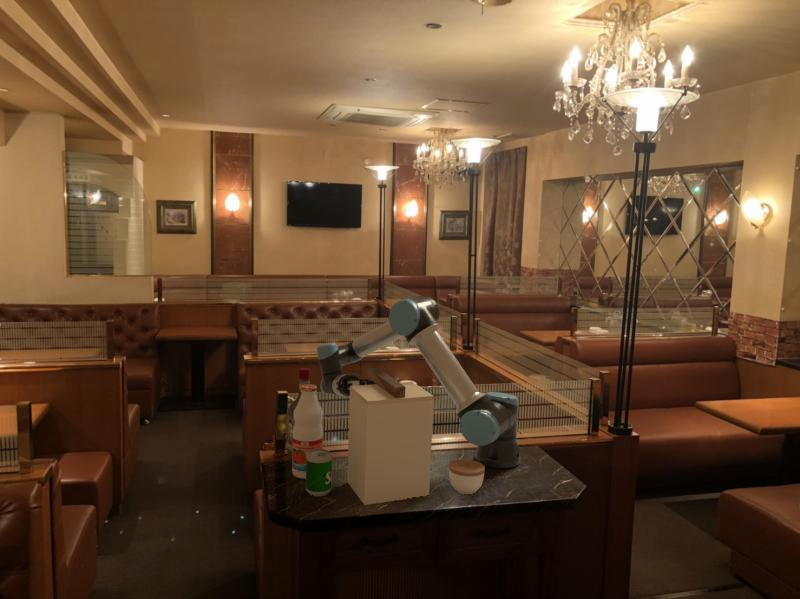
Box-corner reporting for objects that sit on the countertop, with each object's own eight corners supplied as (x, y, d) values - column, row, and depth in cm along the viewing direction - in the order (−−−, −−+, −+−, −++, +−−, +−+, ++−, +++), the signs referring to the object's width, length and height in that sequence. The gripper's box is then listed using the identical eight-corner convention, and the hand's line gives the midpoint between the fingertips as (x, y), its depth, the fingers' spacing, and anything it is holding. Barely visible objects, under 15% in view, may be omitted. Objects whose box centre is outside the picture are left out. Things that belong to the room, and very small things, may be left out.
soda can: (320, 500, 175) (321, 459, 174) (300, 493, 179) (300, 453, 178) (336, 490, 182) (337, 451, 180) (316, 484, 186) (317, 445, 184)
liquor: (309, 449, 213) (311, 364, 209) (321, 458, 206) (323, 370, 202) (284, 454, 208) (286, 367, 204) (295, 463, 201) (297, 373, 197)
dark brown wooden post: (376, 376, 197) (376, 367, 196) (405, 397, 175) (405, 386, 174) (367, 376, 196) (367, 367, 195) (395, 397, 174) (395, 387, 173)
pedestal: (407, 474, 195) (411, 381, 192) (429, 495, 181) (433, 396, 177) (347, 482, 188) (350, 386, 184) (364, 505, 173) (367, 401, 169)
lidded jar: (482, 484, 190) (484, 455, 189) (484, 499, 180) (485, 468, 178) (447, 481, 191) (449, 452, 190) (447, 496, 181) (448, 466, 179)
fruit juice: (325, 468, 197) (327, 383, 194) (317, 480, 188) (319, 391, 184) (297, 466, 199) (298, 381, 195) (287, 477, 189) (289, 389, 186)
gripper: (378, 393, 224) (410, 393, 206) (314, 398, 211) (342, 398, 193) (377, 373, 225) (408, 370, 207) (314, 376, 212) (341, 374, 194)
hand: (377, 383), depth 200 cm, fingers open, 13 cm apart
